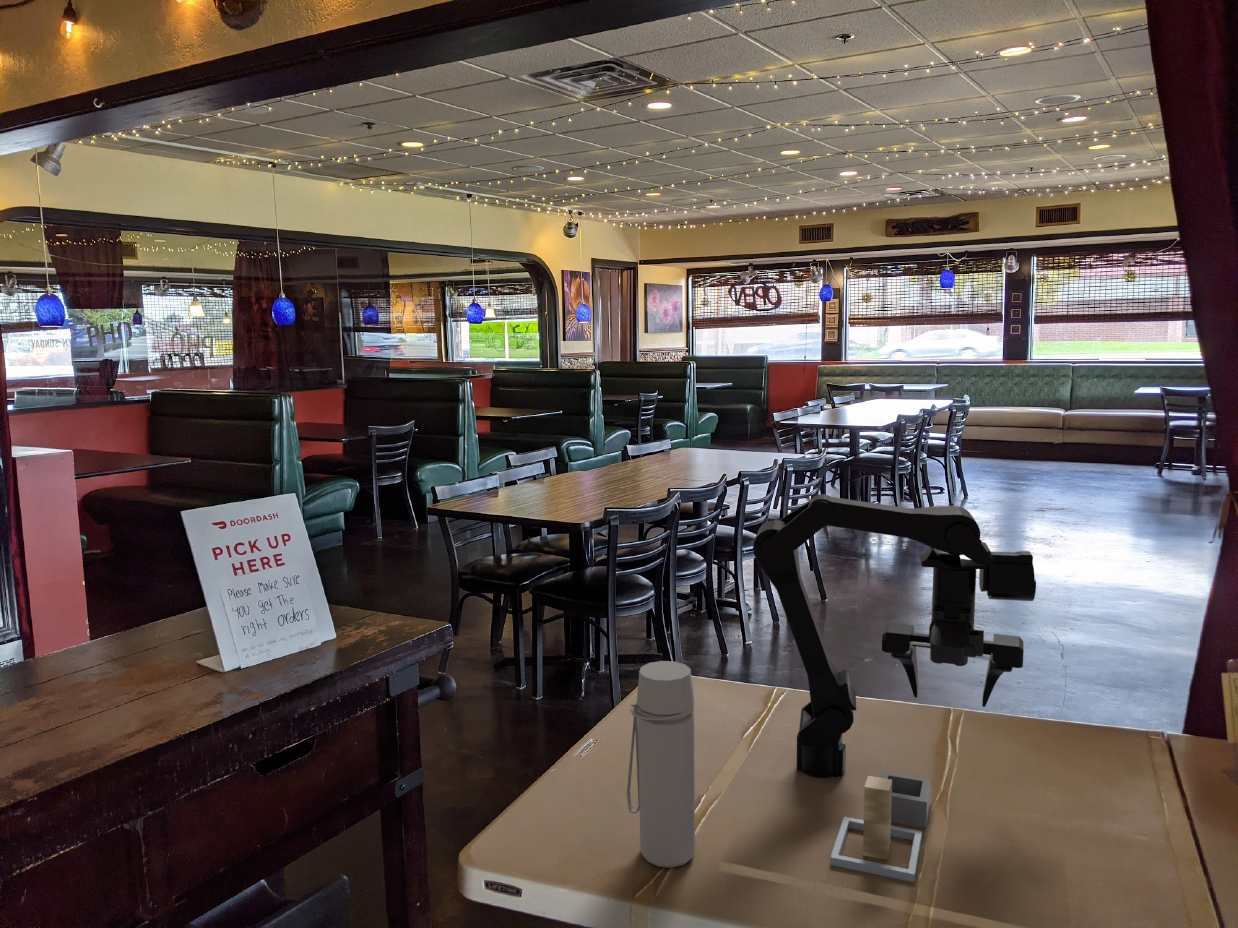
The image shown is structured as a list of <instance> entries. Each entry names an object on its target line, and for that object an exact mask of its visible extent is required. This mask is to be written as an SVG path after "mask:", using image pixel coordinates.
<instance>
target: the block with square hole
mask: <svg viewBox="0 0 1238 928" xmlns="http://www.w3.org/2000/svg"><path fill="white" fill-rule="evenodd" d="M879 777H880V778H886V779H891V780H892V807H891V823H895V824H900V825H905V826H911V827H917V828H921V829H927V824H928V818H929V813H930V806H931V791H932V790H931V788H932V779H931V778H929V777H928V778H927V777H921V776H916V775H910V774H909V775H908V774H903V773H899V772H892V771H886V770H881V772H880V775H879Z"/></svg>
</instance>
